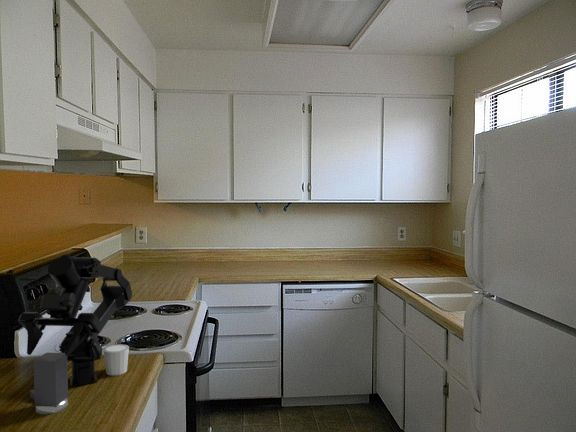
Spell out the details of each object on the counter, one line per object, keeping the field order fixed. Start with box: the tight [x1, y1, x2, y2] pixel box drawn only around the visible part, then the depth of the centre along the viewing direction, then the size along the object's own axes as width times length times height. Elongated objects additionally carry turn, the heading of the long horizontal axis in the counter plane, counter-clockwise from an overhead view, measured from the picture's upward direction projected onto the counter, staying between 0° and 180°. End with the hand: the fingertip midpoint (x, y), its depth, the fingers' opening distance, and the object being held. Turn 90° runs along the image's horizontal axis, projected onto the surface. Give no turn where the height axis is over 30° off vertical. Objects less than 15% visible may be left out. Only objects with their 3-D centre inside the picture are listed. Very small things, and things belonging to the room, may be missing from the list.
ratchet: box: [29, 389, 69, 415], centre depth 108 cm, size 13×7×4 cm, turn 50°
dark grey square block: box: [33, 352, 69, 407], centre depth 105 cm, size 5×5×11 cm
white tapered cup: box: [103, 343, 130, 376], centre depth 127 cm, size 7×7×7 cm
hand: (47, 354), depth 104 cm, fingers open, 9 cm apart
